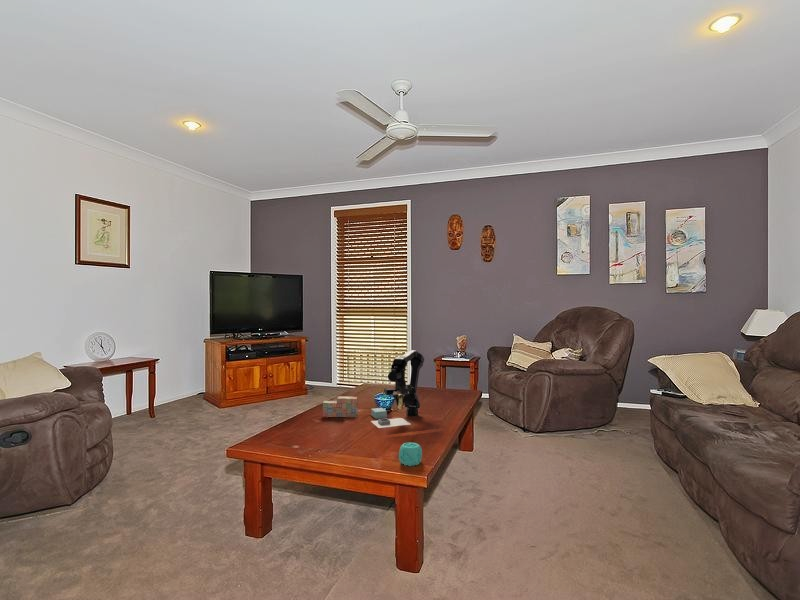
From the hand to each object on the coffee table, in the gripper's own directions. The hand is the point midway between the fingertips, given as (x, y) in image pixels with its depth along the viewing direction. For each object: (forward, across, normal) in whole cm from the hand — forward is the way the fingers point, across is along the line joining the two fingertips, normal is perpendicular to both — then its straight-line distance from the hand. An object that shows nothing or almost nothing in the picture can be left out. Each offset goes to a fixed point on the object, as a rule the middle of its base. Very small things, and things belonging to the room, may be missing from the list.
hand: (400, 405), depth 257 cm
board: (+11, -6, 0) cm, 13 cm away
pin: (+2, 0, 0) cm, 2 cm away
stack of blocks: (+12, -29, +30) cm, 43 cm away
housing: (+11, -8, +16) cm, 21 cm away
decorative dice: (+12, -18, -59) cm, 63 cm away
